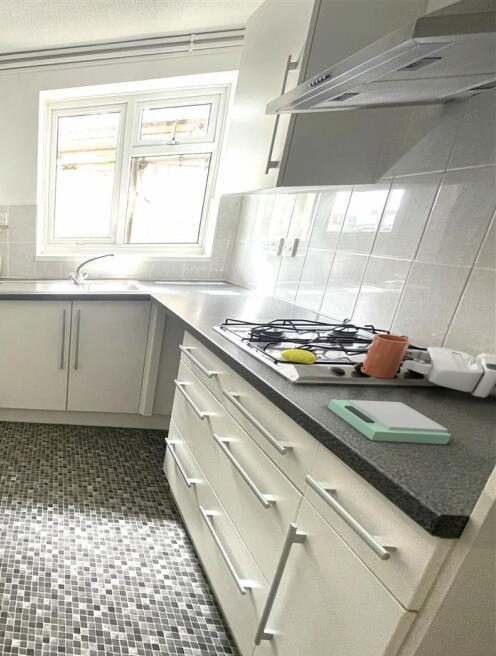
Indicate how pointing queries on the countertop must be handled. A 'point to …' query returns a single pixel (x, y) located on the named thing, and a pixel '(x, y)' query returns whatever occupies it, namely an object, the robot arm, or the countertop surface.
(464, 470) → the countertop surface
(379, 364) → the orange mug
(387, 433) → the scale
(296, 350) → the lemon
